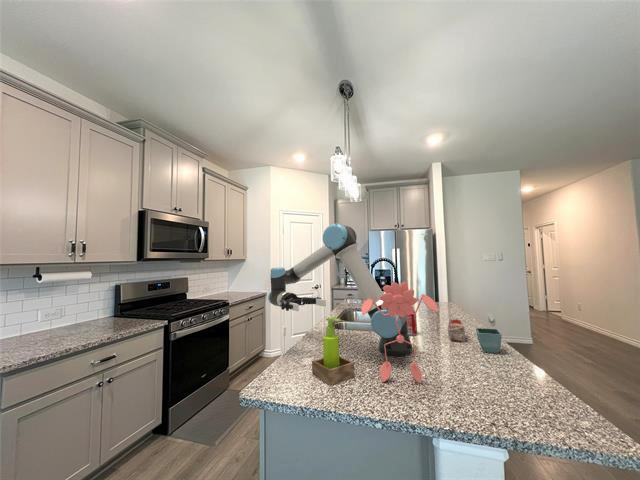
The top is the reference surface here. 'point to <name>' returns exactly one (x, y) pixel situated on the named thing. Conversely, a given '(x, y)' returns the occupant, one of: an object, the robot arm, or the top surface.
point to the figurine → (400, 303)
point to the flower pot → (489, 339)
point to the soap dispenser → (331, 345)
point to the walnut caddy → (333, 371)
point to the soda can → (412, 324)
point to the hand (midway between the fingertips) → (311, 305)
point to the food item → (456, 330)
